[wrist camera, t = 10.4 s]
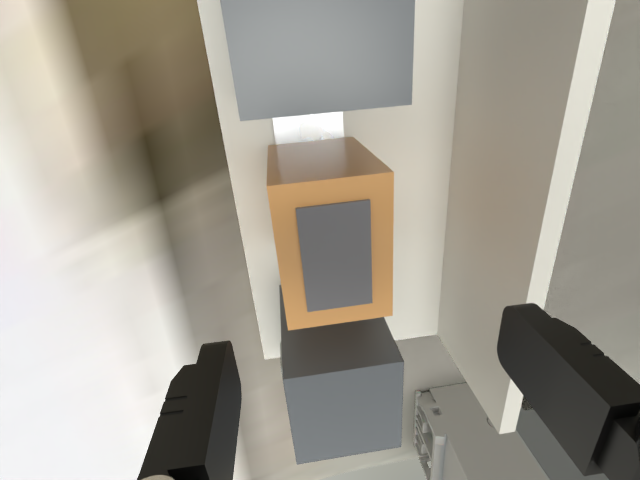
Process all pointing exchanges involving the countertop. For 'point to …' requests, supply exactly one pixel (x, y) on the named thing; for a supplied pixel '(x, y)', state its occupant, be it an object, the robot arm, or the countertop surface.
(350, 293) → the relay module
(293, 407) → the block
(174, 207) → the countertop surface
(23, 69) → the countertop surface
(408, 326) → the panel
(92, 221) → the countertop surface
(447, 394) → the circuit breaker
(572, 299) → the countertop surface
